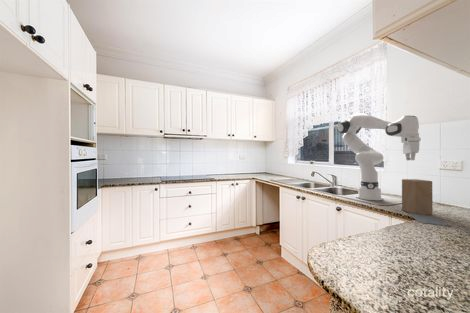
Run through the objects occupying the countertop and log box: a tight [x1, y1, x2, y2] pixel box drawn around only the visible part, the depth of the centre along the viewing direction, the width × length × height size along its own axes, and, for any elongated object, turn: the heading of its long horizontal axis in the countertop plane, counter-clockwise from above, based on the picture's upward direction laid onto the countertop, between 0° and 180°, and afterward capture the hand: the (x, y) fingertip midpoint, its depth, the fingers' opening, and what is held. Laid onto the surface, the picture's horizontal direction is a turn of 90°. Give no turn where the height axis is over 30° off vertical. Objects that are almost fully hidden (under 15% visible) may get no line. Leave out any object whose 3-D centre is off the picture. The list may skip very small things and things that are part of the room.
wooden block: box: [401, 178, 434, 216], centre depth 120 cm, size 10×10×20 cm
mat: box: [407, 212, 453, 227], centre depth 106 cm, size 18×12×1 cm, turn 153°
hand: (410, 160), depth 130 cm, fingers open, 8 cm apart
